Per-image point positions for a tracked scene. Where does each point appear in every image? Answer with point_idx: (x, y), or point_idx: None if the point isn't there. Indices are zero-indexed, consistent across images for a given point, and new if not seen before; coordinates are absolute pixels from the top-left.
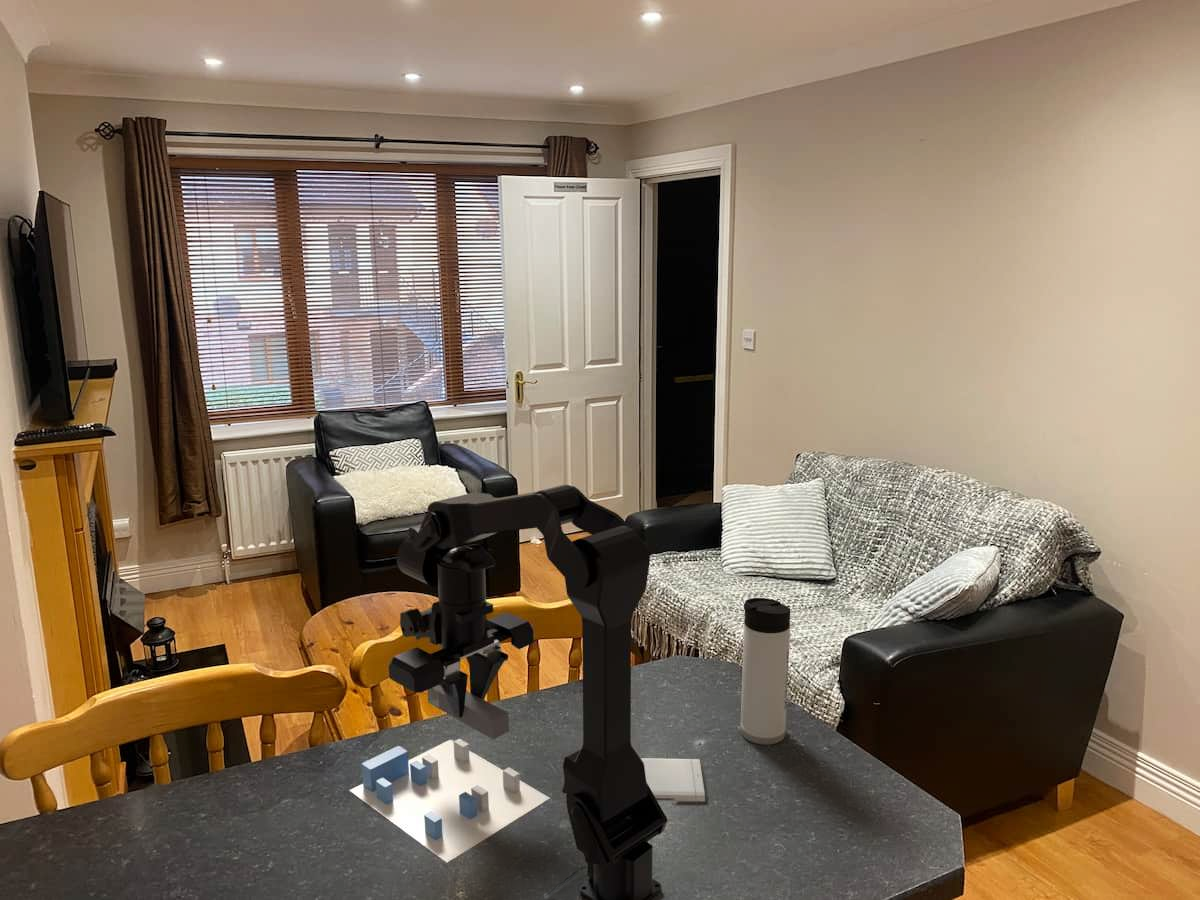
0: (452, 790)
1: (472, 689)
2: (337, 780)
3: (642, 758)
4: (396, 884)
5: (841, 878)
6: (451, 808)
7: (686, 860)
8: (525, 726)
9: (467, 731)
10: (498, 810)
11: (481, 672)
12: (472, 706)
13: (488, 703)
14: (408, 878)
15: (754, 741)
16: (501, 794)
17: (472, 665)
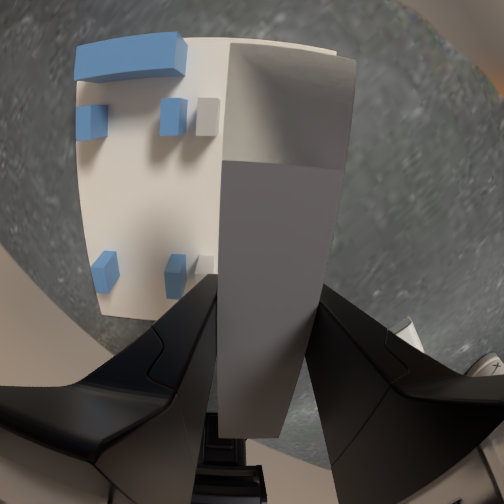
0: (205, 192)
1: (323, 329)
2: (95, 5)
3: (420, 348)
4: (48, 288)
5: (326, 462)
6: (168, 233)
7: (290, 432)
8: (448, 150)
9: (383, 58)
10: None
11: (348, 451)
12: (234, 376)
13: (288, 392)
14: (60, 291)
15: (467, 375)
16: None
17: (388, 421)
